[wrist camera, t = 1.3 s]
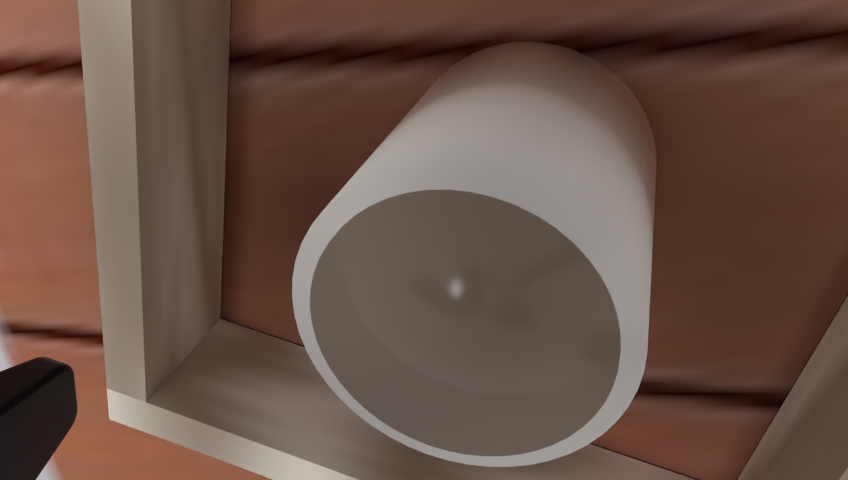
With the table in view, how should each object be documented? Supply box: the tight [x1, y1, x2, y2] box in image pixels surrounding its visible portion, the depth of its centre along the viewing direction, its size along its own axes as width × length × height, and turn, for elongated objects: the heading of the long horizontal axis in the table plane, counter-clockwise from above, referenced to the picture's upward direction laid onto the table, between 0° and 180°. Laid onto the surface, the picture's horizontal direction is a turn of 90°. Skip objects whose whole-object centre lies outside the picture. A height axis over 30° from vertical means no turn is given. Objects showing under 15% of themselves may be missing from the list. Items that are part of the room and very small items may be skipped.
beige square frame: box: [78, 0, 848, 480], centre depth 17 cm, size 18×18×4 cm
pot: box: [292, 41, 656, 467], centre depth 15 cm, size 6×6×7 cm
